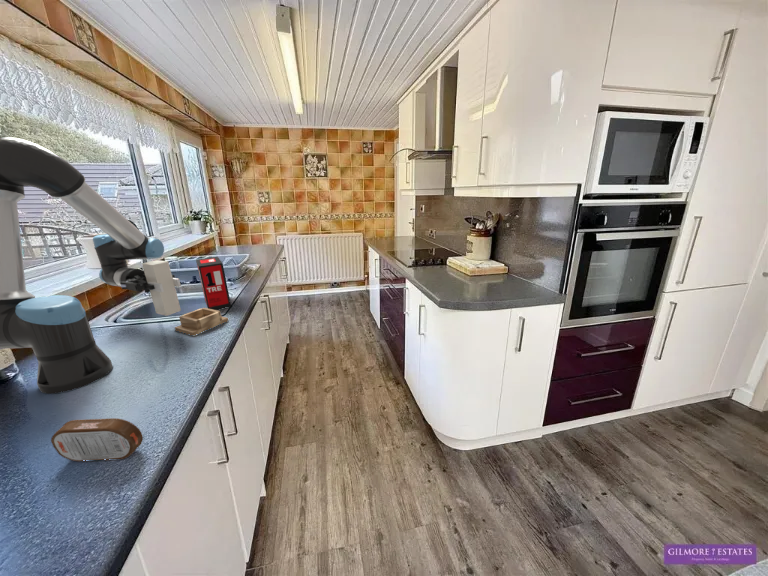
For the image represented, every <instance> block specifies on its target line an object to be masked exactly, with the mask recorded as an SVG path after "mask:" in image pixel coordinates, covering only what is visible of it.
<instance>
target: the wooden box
mask: <svg viewBox="0 0 768 576" xmlns="http://www.w3.org/2000/svg"><path fill="white" fill-rule="evenodd" d="M179 321H180V324H179V325H177V326H175V327H174V329H175V330H174V331H176V332H177V331H179V332H178V333H181V332H183V333H182V334H184V333H186V334H185V335H188V334H190V335H189V336H191V335H196V334H199V333H201V332H203V331H205V330H208V329H210V328H212V329H214V328H213V327H215V326H217V325H219V324H221V325H223V324H222V323H224V322H226V323H228V322H229V317H227V316H222V314H221V311H220V310H213V309H208V308H207V307H202V308H201V307H200V308H198V309H195V310H192V311H190V312H187V313H185V314H182V315H180V316H179ZM227 321H228V322H227ZM224 324H225V323H224ZM219 326H220V325H219ZM217 327H218V326H217ZM215 328H216V327H215ZM210 330H211V329H210ZM208 331H209V330H208ZM205 332H206V331H205ZM203 333H204V332H203ZM201 334H202V333H201ZM199 335H200V334H199ZM196 336H197V335H196Z"/></svg>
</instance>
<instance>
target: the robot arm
mask: <svg viewBox="0 0 768 576" xmlns="http://www.w3.org/2000/svg"><path fill="white" fill-rule="evenodd" d="M25 187H33V188H37V189H39V190H42V191H43V192H45V193H46V194H47V195H49V196H51V197H52V198H56V199H60V200H62V201H63V202H65V203H66V204H67V205H68V206H70V207H71V208H73V209H74V210H75V211H77V212H78V213H79V214H80V215H81V216H82V217H84V218H85V219H87V220H88V221H89V222H91V223H92V224H93V225H94V226H96V227H97V228H98V229H100V230H101V231H102V232H103V233H105V234H98V235H95V236H93V237H92V242H93V246H94V250H95V252H96V255H97V258H98V260H99V264H100V268H101V269H100V270H99V272H98V274H99V275H98V277H99V279H100V281H101V282H103V283H105V284H107V285H109V286H113V287H114V286H115V287H119V288H121V290H129V291H134V292H138V293H141V292H143V290H144V292H145V293H150V290H153V291H158V292H164V290H163V286H162V284H161V283H155V282H148V283H147V279H146V276H145V273H144V269H140V268H139V269H138V268H133V267H129V265H128V263H127V260H154V259H160V258H162V257H163V255H164V253H165V246H164V243H163V241H161V240H160V239H158V238H154V237H150V238H149V237H147V236H146V235H145V234H144V233H143V231H141V230H140V229H139V228H137V227H136V226H135V225H134V224H133V223H132V222H130V220H128V219H127V218H126V216H124V215H123V214H122V213H120V211H118V210H117V209H116V208H115V207H114V206H113V205H111V204H110V203H109V202H108V201H107V200H106V199H105V198H104V197H102V196H101V195H100V194H99V193H98V192H97V191H96V190H95V189H93V188H92V187H91V186H90V185H89V184H88V183H87V182H86V177H85V176H84V175H83V173H81V171H79V170H78V169H77V168H75V167H74V166H73V165H72V164H70V163H69V162H68V161H67V160H65V159H64V158H62V157H61V156H59V155H58V154H56V153H54V152H53V151H51V150H49V149H47V148H46V147H44V146H41V145H39V144H37V143H34V142H32V141H30V140H26V139H24V138H18V137H12V136H11V137H9V136H7V137H0V350H5V349H24V348H31V349H32V350H33V353H34V355H35V358H36V360H37V363H38V365H37V378H36V384H37V387H38V389H39V391H40V393H42V394H45V395H47V394H48V395H50V394H51V395H52V394H60V393H66V392H69V391H73V390H78V389H80V388H83V387H86V386H88V385H91V384H93V383H95V382H96V381H98V380H100V379H102V378H104V377H105V376H107V375H108V374H109V373H110V372H111V371H112V370H113V367H114V366H113V363H112V361H111V358H109V356H108V355H107V354H106V353H105V352H104V351H103V350H102V349H101V348H100V347H99V346H98V345H97V343H96V340H95V337H94V334H93V331H92V328H91V325H90V322H89V319H88V317H87V313H86V310H85V308H84V307H83V305H82V302H81V301H80V300H79V299H78V298H77V297H74V296H71V295H64V294H63V295H61V294H59V295H57V294H55V295H48V296H38V297H36V295H34V294H32V293H30V292H29V291H28V290H27V287H26V285H27V284H26V277H25V266H24V260H23V259H24V257H23V249H22V239H21V230H20V221H19V218H20V217H19V209H18V202H20V201H22V200H23V199H25V197H26V196H25ZM172 278H173V282H174V285H175V288H176V287H178V288H180V287H182V285H181V280H180V278H176V277H175V275H174V274H172Z"/></svg>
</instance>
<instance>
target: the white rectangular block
mask: <svg viewBox="0 0 768 576" xmlns="http://www.w3.org/2000/svg"><path fill="white" fill-rule="evenodd" d="M141 265H142V268H143V269H142V270H143V271H144V273H145V276H146V279H147V283H148V282H155V283H161V284H162V286H163V290H164V292H158V291H153V290H150V292H149V293H150V297H151V301H152V303H153V307H154V309H155V311H154V312H155V314H158V315H162V316H166V317H168V316H170V315H173V314H175V313H178V312H180V311H182V309H181V306H180V302H179V301H180V300H179V298H178V293H177V290H176V286H175V285H174V282H173V278H172V275H173V274H172V270H171V268H170V264H169V261H166V260H158V259H157V260H153V261H152V260H151V261H147V262H143V263H142V264H141Z"/></svg>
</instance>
